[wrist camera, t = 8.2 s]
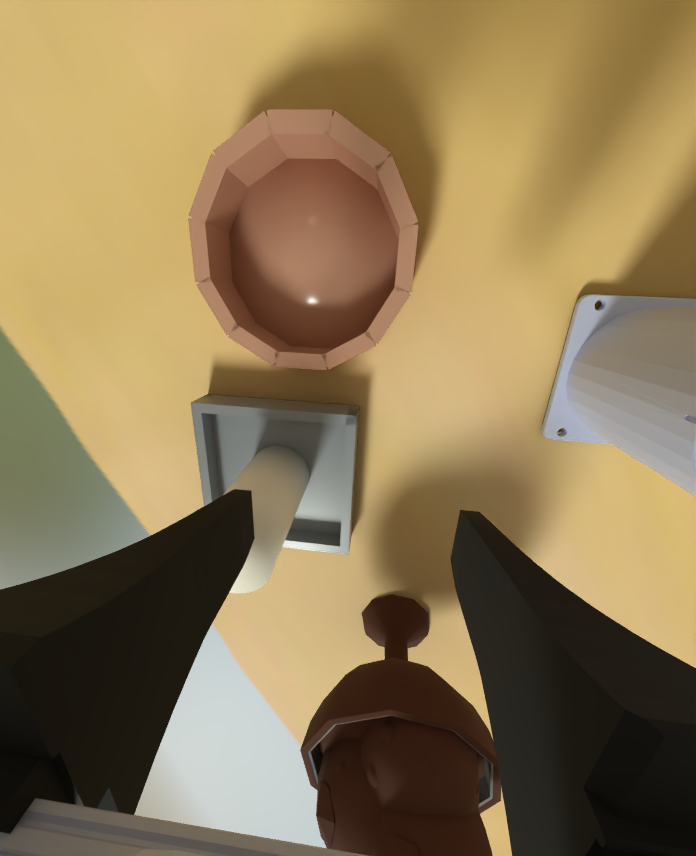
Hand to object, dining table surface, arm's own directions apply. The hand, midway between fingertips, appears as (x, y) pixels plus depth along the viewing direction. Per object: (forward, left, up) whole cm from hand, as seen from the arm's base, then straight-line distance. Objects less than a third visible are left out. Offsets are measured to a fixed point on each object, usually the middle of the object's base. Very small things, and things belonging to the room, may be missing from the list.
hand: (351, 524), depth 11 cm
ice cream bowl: (-3, +17, -11) cm, 20 cm away
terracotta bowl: (+4, -9, -10) cm, 14 cm away
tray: (+6, +4, -10) cm, 12 cm away
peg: (+6, +4, -10) cm, 12 cm away
